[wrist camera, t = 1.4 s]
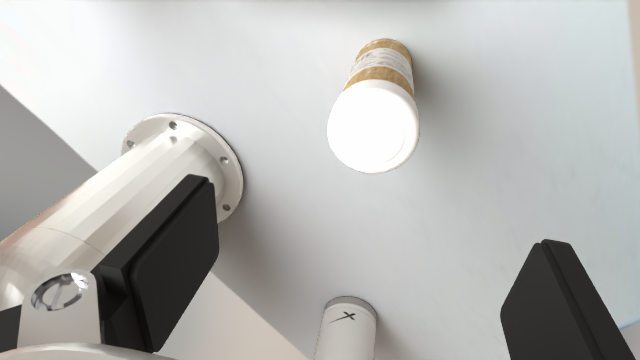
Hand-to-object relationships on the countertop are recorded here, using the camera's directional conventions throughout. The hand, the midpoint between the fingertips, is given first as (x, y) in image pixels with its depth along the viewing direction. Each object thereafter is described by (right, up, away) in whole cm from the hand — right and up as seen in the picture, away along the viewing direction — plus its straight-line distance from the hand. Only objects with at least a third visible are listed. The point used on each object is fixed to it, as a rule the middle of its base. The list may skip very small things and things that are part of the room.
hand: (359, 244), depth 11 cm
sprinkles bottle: (+4, +11, +19) cm, 22 cm away
